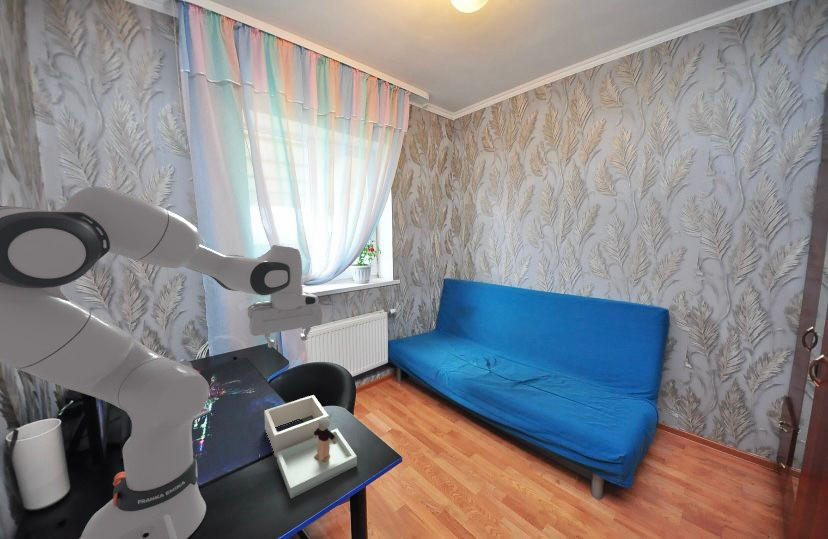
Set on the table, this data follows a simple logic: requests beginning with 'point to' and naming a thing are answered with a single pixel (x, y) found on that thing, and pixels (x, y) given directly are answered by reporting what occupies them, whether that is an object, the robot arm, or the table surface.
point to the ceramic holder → (289, 414)
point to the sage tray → (314, 463)
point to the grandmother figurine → (323, 439)
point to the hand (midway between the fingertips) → (288, 343)
